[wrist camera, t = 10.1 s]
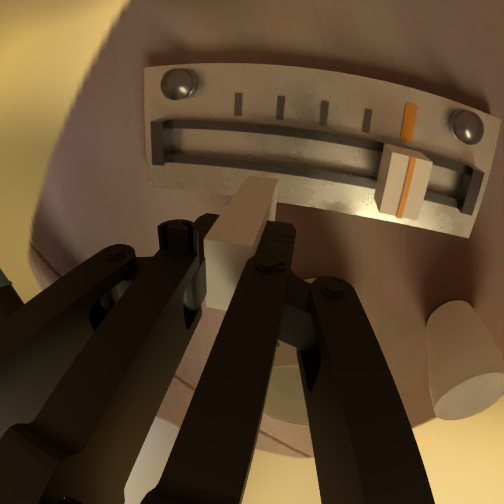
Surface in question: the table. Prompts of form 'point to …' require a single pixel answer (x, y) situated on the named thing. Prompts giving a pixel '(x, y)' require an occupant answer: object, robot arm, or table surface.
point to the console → (313, 138)
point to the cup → (462, 362)
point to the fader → (401, 181)
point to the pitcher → (286, 386)
